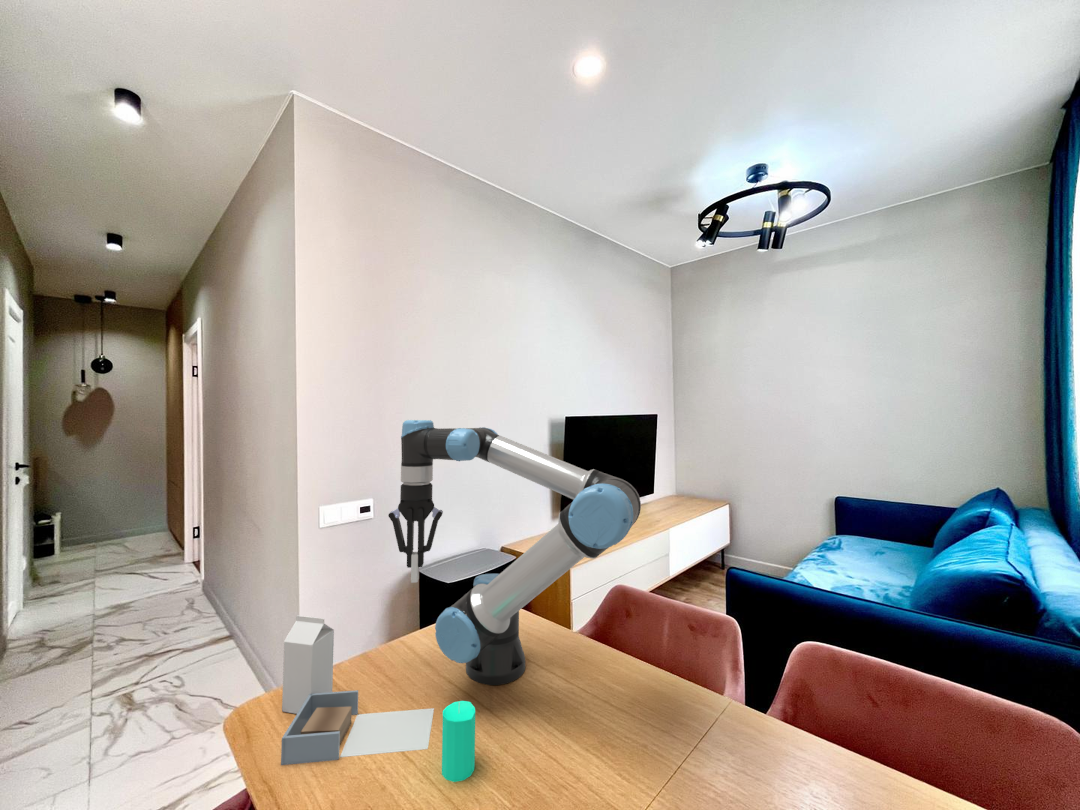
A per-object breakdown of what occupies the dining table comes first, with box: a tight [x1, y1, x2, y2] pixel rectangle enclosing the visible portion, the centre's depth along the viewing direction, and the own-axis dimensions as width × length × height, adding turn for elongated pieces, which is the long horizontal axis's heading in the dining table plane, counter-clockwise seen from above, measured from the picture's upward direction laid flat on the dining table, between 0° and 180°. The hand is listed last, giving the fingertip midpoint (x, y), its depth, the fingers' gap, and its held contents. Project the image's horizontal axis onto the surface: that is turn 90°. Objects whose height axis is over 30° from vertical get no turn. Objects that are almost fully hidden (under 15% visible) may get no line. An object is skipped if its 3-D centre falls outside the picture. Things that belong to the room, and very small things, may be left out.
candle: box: [441, 700, 476, 783], centre depth 79 cm, size 6×6×12 cm
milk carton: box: [281, 615, 335, 715], centre depth 97 cm, size 7×7×19 cm
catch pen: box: [280, 690, 359, 766], centre depth 87 cm, size 10×13×5 cm
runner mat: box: [339, 707, 435, 758], centre depth 88 cm, size 16×12×1 cm
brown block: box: [301, 707, 352, 745], centre depth 87 cm, size 7×7×4 cm
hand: (414, 580), depth 106 cm, fingers closed
